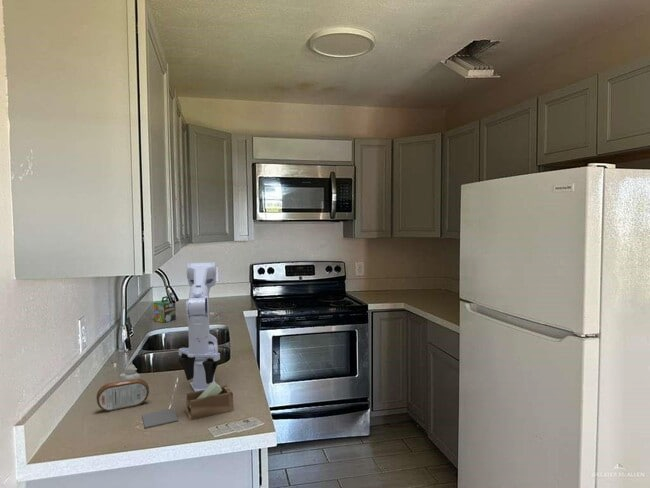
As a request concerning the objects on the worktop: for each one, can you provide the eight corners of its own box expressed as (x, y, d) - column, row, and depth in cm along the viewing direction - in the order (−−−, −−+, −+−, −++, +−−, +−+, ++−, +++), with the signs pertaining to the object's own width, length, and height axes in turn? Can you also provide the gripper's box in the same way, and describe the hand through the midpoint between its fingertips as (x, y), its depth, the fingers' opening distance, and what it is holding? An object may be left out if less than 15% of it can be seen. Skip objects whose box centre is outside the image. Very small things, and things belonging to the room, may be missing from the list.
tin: (149, 400, 138) (148, 375, 138) (150, 404, 136) (149, 378, 135) (97, 410, 131) (95, 384, 131) (96, 414, 128) (95, 387, 128)
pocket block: (184, 410, 130) (184, 393, 130) (226, 401, 136) (226, 385, 136) (189, 420, 124) (188, 402, 124) (233, 410, 130) (232, 393, 130)
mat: (142, 415, 127) (142, 414, 127) (173, 409, 131) (173, 408, 131) (144, 428, 119) (144, 427, 119) (178, 421, 124) (178, 419, 123)
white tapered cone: (138, 385, 152) (137, 363, 151) (118, 387, 150) (117, 365, 149) (141, 379, 157) (140, 358, 156) (121, 381, 155) (120, 360, 155)
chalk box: (165, 318, 258) (164, 294, 258) (176, 319, 254) (175, 295, 254) (153, 321, 250) (152, 296, 249) (164, 323, 246) (163, 297, 245)
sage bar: (194, 410, 130) (189, 406, 129) (219, 385, 133) (213, 380, 133) (197, 416, 127) (192, 411, 126) (222, 390, 130) (217, 385, 129)
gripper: (170, 337, 127) (172, 381, 128) (208, 343, 121) (209, 389, 122) (187, 332, 134) (188, 374, 134) (224, 336, 127) (225, 380, 128)
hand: (199, 380), depth 129 cm, fingers open, 7 cm apart
